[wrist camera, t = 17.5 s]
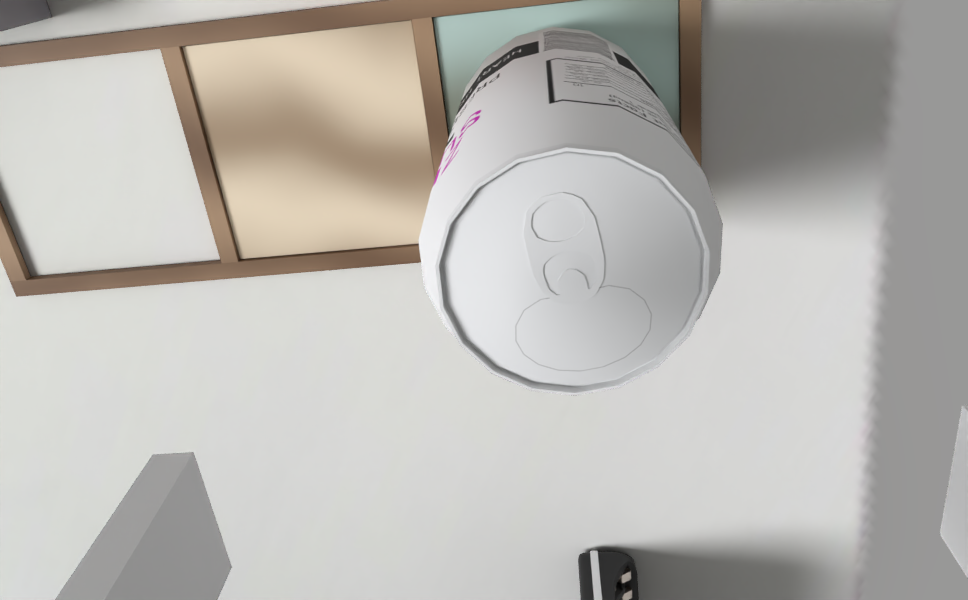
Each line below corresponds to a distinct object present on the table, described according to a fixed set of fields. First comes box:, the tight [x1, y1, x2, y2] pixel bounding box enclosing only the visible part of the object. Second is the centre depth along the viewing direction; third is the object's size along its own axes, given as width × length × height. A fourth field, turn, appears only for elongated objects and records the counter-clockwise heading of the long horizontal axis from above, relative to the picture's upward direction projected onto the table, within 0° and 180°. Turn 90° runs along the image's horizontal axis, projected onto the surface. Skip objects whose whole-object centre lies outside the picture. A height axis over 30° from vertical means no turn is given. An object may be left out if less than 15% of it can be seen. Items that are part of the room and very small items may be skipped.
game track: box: [0, 0, 701, 297], centre depth 35 cm, size 11×32×1 cm, turn 97°
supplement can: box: [418, 27, 723, 396], centre depth 27 cm, size 8×8×15 cm
